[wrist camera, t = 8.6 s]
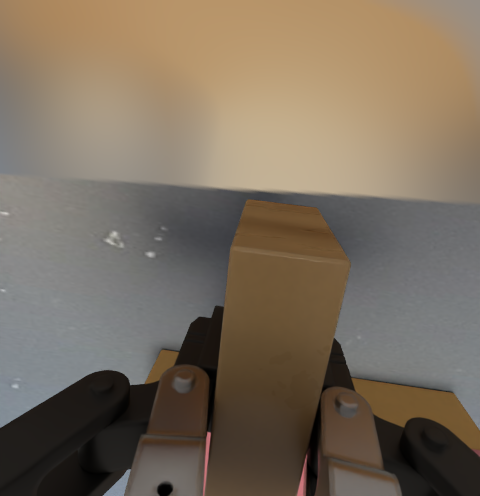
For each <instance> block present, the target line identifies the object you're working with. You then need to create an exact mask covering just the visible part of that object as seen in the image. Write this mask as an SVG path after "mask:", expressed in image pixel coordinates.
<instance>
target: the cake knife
mask: <svg viewBox="0 0 480 496" xmlns="http://www.w3.org/2000/svg"><path fill="white" fill-rule="evenodd" d="M350 267H351V262H350V260H349V259H348V257H347V255H346V254H345V252H344V250H343V249H342V247H341V246H340V244H339V242H338V241H337V239H336V237H335V236H334V234H333V233H332V231H331V229H330V228H329V226H328V224H327V223H326V221H325V220H324V218H323V216H322V215H321V213H320V211H319V210H318V209H317V208H314V207H306V206H298V205H290V204H282V203H274V202H266V201H258V200H250V199H249V200H247V201H246V203H245V206H244V209H243V212H242V215H241V218H240V221H239V224H238V227H237V230H236V233H235V236H234V239H233V242H232V245H231V248H230V256H229V265H228V275H227V284H226V294H225V303H224V313H223V322H222V332H221V341H220V351H219V360H218V369H217V379H216V388H215V398H214V407H213V417H212V426H211V436H210V445H209V455H208V464H207V474H206V483H205V492H204V496H297V494H298V489H299V485H300V481H301V477H302V472H303V468H304V464H305V459H306V455H307V451H308V447H309V442H310V438H311V434H312V429H313V425H314V421H315V417H316V412H317V408H318V404H319V400H320V395H321V391H322V387H323V382H324V378H325V374H326V370H327V365H328V361H329V357H330V352H331V348H332V344H333V340H334V335H335V331H336V327H337V323H338V318H339V314H340V310H341V305H342V301H343V297H344V293H345V288H346V284H347V280H348V275H349V271H350Z"/></svg>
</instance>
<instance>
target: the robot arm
mask: <svg viewBox="0 0 480 496" xmlns="http://www.w3.org/2000/svg"><path fill="white" fill-rule="evenodd" d="M223 313H224V307H223V306H215V308H214V312H213V315H212V318H206V317H198V318H197V319H196V320H195V321H193V322H192V323H191V324H190V327H189V329H188V332H187V334H186V337H185V339H184V341H183V344H182V346H181V349H180V351H179V354H178V356H177V359H176V361H175V364H174V366H173V367H171V368H169V369H167V370H166V371H165V372H164V373H163V374H162V375H161V377H160V380H159V381H156V382H153V383H148V384H140V385H130V383H129V380H128V378H127V377H126V376H125V375H124V374H122V373H120V372H117V371H112V370H104V371H98V372H94V373H92V374H89V375H87V376H86V377H84V378H82V379H81V380H79V381H77V382H76V383H74V384H72V385H71V386H69V387H67V388H66V389H64V390H62V391H61V392H59V393H57V394H56V395H54V396H52V397H51V398H49V399H48V400H46V401H44V402H43V403H41V404H39V405H38V406H36V407H34V408H33V409H31V410H29V411H28V412H26V413H24V414H23V415H21V416H19V417H18V418H16V419H14V420H13V421H11V422H9V423H8V424H6V425H5V426H3V427H1V428H0V496H103V495H104V494H105V493H106V492H107V491H108V490H109V489H110V488H111V487H112V486H113V485H114V484H115V483H116V482H117V481H118V480H119V479H120V478H121V477H122V476H123V475H124V474H125V472H126V470H128V469H131V472H130V475H129V479H128V482H127V486H126V490H125V493H124V496H203V488H204V472H205V455H206V438H207V433H208V432H210V433H211V426H212V417H213V407H214V398H215V388H216V379H217V369H218V360H219V351H220V341H221V332H222V322H223ZM343 355H344V354H343V351H342V348H341V345H340V344H339V343H338V342H337V340H336V339H335V338H334V340H333V344H332V348H331V352H330V357H329V361H328V365H327V370H326V374H325V378H324V382H323V387H322V391H321V395H320V400H319V404H318V408H317V412H316V417H315V421H314V425H313V429H312V434H311V438H310V442H309V447H308V451H307V458H306V462H305V466H304V484H303V496H480V456H478V455H477V454H476V453H475V452H474V451H473V450H472V449H471V448H470V447H468V446H467V445H466V444H465V443H464V442H463V441H462V440H461V439H459V438H458V437H457V436H456V435H455V434H454V433H453V432H451V431H450V430H449V429H448V428H446V427H445V426H443V425H441V424H440V423H438V422H436V421H433V420H430V419H427V418H422V417H415V418H411V419H409V420H408V421H407V422H406V424H405V427H401V426H399V425H396V424H394V423H391V422H389V421H386V420H384V419H382V418H379V417H378V416H376V415H374V414H373V412H372V409H371V406H370V404H369V403H368V402H367V400H366V399H365V398H364V397H362V396H361V395H360V394H358V393H357V392H356V391H355V388H354V385H353V382H352V379H351V375H350V372H349V369H348V366H347V365H346V360H345V357H344V356H343Z"/></svg>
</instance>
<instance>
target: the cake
mask: <svg viewBox="0 0 480 496" xmlns="http://www.w3.org/2000/svg"><path fill="white" fill-rule="evenodd" d="M351 379H352V382H353V385H354V388H355V391H356V392H357V393H358V394H360V395H361V396H362V397H364V398H365V399H366V400H367V402H368V403H369V404H370V406H371V409H372V412H373V414H374V415H376V416H378V417H379V418H382V419H384V420H386V421H389V422H391V423H394V424H396V425H399V426H401V427H405V424H406V422H407V421H408V420H409V419H411V418H415V417H422V418H427V419H430V420H433V421H436V422H438V423H440V424H441V425H443V426H445V427H446V428H448V429H449V430H450V431H451V432H453V433H454V434H455V435H456V436H457V437H458V438H459V439H461V440H462V441H463V442H464V443H465V444H466V445H467V446H468V447H470V448H471V449H472V450H473V451H474V452H475V453H476V454H477V455H478V456H480V430H479V429H478V427H477V426H476V424H475V423H474V422H473V420H472V419H471V417H470V416H469V414H468V413H467V411H466V410H465V409H464V407H463V406H462V404H461V403H460V401H459V400H458V398H457V397H456V396H455V394H454V393H450V392H443V391H437V390H430V389H423V388H416V387H410V386H403V385H396V384H390V383H383V382H376V381H369V380H363V379H356V378H351ZM306 458H307V455H306ZM305 462H306V459H305ZM304 466H305V464H304ZM303 484H304V468H303V472H302V477H301V481H300V485H299V489H298V494H297V496H303Z"/></svg>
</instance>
